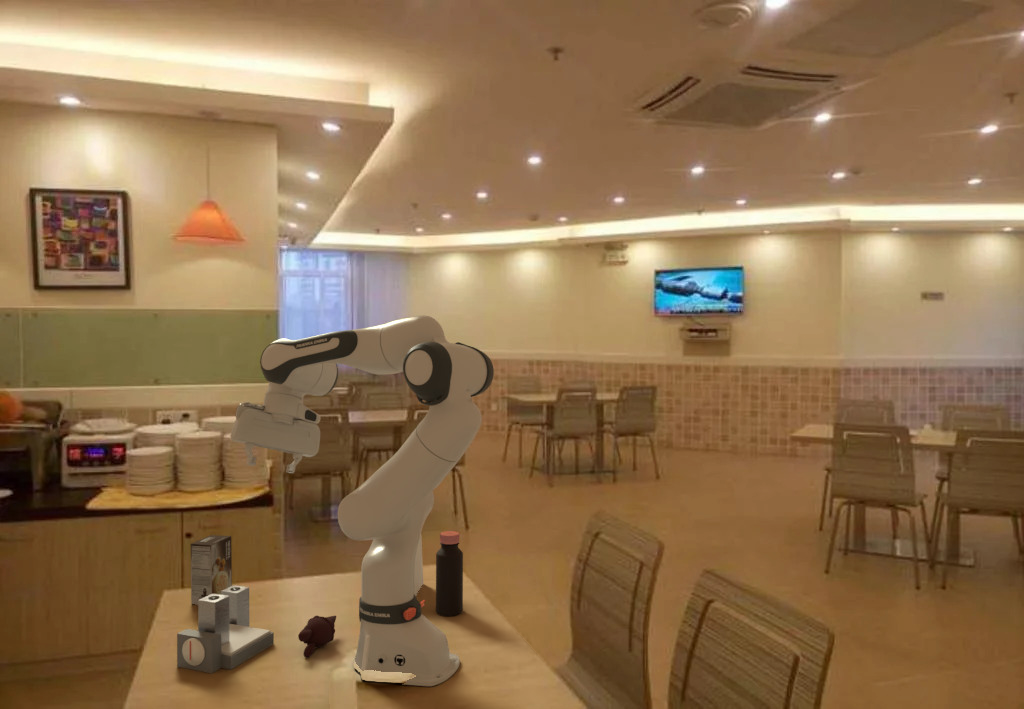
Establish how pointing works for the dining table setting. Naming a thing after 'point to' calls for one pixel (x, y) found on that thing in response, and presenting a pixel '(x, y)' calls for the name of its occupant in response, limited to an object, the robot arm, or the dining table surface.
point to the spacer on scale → (214, 615)
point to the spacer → (238, 604)
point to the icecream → (317, 633)
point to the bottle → (449, 575)
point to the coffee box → (210, 566)
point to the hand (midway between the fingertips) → (270, 468)
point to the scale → (220, 647)
